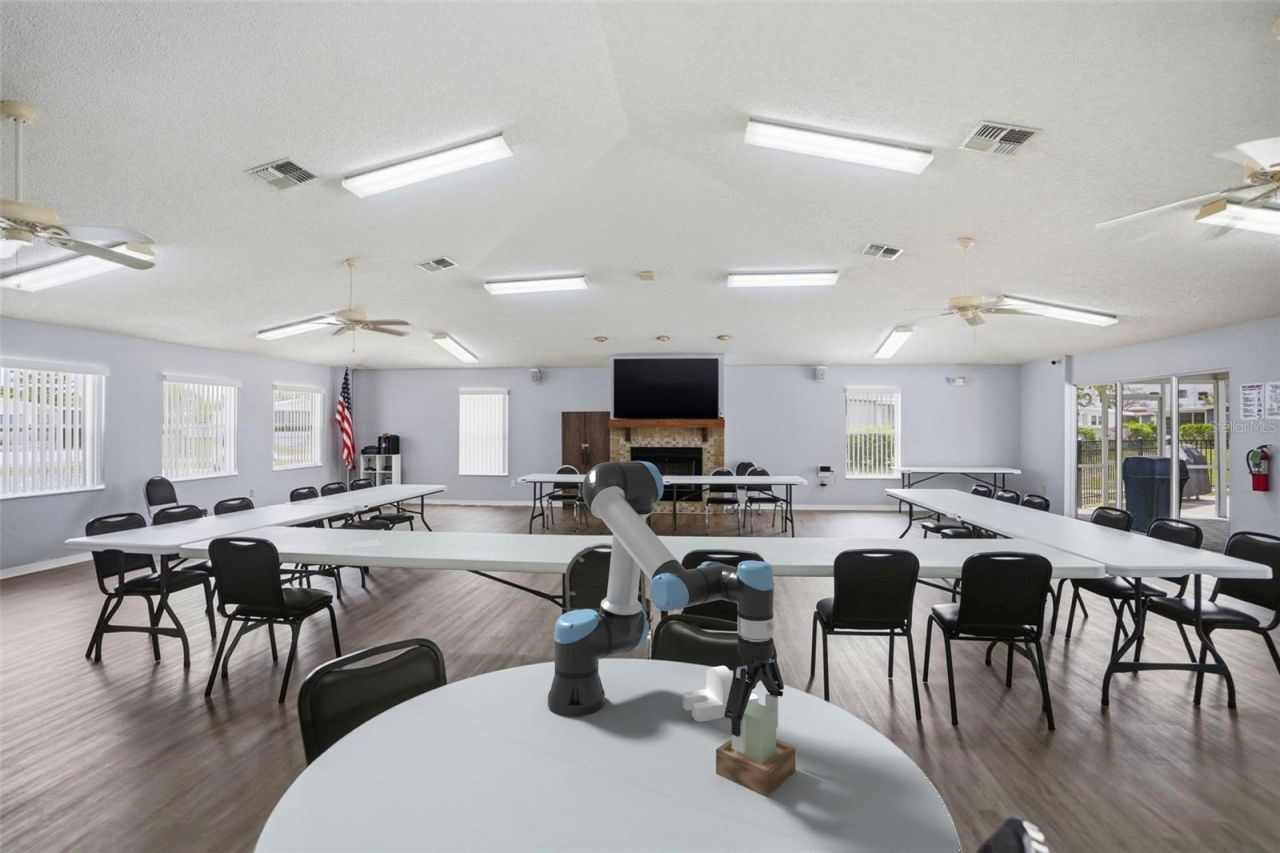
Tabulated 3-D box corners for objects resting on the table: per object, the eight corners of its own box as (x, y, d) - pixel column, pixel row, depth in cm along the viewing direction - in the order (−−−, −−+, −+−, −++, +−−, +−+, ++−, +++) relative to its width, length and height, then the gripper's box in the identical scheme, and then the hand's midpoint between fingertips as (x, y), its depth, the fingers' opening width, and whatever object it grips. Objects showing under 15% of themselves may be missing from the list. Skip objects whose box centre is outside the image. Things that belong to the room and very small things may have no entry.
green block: (736, 753, 122) (736, 710, 122) (751, 742, 126) (751, 701, 127) (761, 764, 118) (761, 719, 118) (776, 752, 122) (776, 709, 123)
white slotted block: (681, 706, 153) (681, 665, 153) (741, 696, 159) (741, 656, 159) (697, 723, 144) (697, 679, 144) (760, 712, 150) (759, 669, 150)
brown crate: (716, 773, 122) (716, 749, 122) (746, 750, 131) (746, 728, 131) (766, 796, 114) (766, 771, 114) (795, 771, 123) (795, 747, 123)
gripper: (739, 656, 111) (739, 769, 110) (799, 626, 130) (799, 721, 129) (706, 647, 116) (706, 754, 115) (769, 619, 135) (769, 711, 134)
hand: (755, 737), depth 122 cm, fingers open, 13 cm apart
